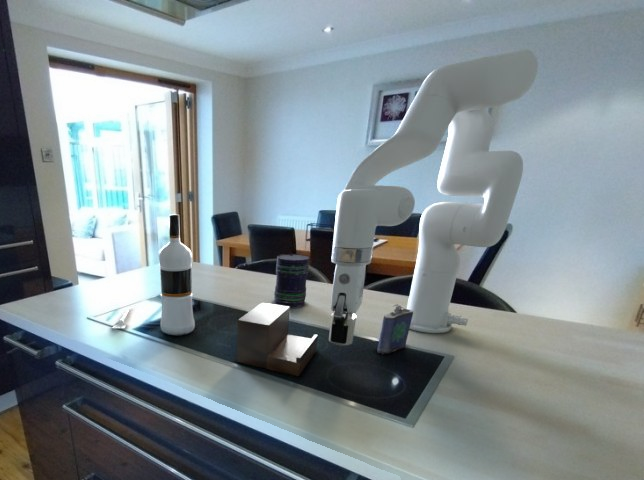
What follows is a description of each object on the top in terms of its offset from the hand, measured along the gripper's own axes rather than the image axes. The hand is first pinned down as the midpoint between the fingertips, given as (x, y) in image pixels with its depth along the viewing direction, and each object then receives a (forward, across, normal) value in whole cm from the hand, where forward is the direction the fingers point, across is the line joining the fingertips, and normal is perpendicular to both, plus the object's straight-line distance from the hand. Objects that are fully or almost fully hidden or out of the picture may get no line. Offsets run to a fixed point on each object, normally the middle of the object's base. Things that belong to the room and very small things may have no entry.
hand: (341, 336), depth 85 cm
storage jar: (+6, +34, +22) cm, 41 cm away
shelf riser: (+5, -6, +12) cm, 14 cm away
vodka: (+5, -3, +41) cm, 42 cm away
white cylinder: (+1, 0, 0) cm, 1 cm away
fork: (+5, -4, +59) cm, 60 cm away
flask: (+6, +11, -10) cm, 16 cm away
